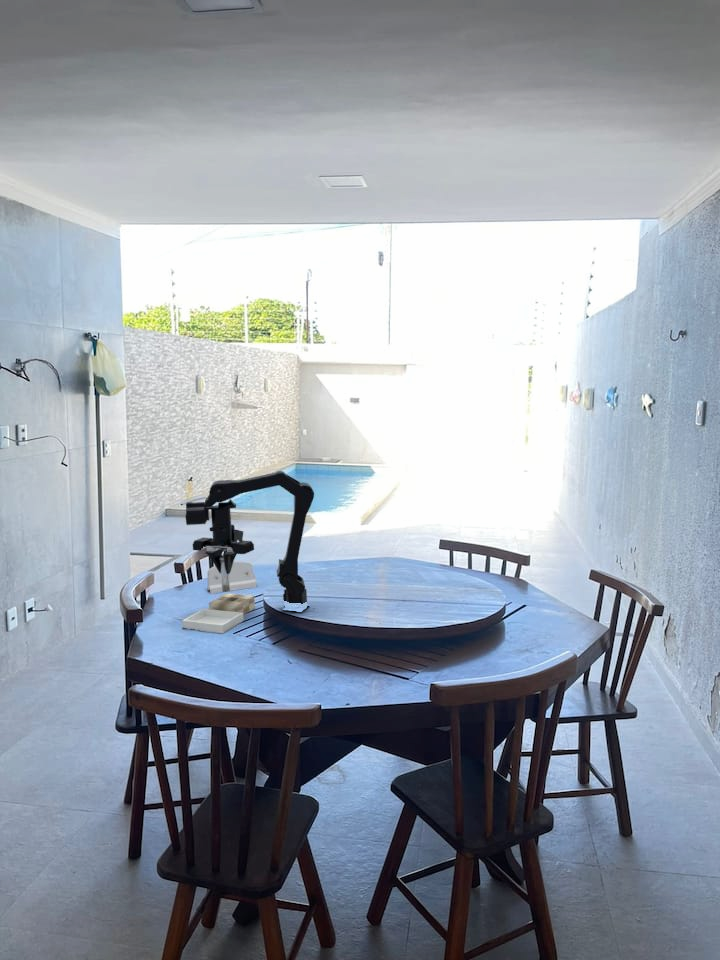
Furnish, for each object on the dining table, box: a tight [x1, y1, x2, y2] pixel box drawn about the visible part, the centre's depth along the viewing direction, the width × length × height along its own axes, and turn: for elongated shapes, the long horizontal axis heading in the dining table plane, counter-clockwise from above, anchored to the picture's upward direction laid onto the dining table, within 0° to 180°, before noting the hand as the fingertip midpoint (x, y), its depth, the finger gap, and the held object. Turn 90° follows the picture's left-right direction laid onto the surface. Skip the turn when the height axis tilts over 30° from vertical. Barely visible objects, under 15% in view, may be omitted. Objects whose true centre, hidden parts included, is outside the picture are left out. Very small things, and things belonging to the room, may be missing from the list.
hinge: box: [207, 560, 258, 595], centre depth 263 cm, size 17×5×10 cm, turn 111°
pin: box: [218, 554, 231, 593], centre depth 233 cm, size 3×3×11 cm
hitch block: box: [208, 592, 256, 616], centre depth 237 cm, size 10×10×4 cm
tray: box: [181, 608, 244, 635], centre depth 226 cm, size 14×11×2 cm
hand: (224, 573), depth 233 cm, fingers closed on pin, 2 cm apart
